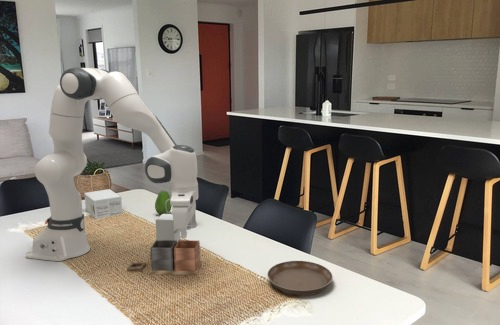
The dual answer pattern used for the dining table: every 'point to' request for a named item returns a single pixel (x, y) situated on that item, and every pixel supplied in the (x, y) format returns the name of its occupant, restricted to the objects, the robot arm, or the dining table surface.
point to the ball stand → (130, 268)
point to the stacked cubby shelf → (175, 257)
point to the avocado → (162, 203)
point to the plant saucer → (300, 277)
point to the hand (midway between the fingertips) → (186, 233)
